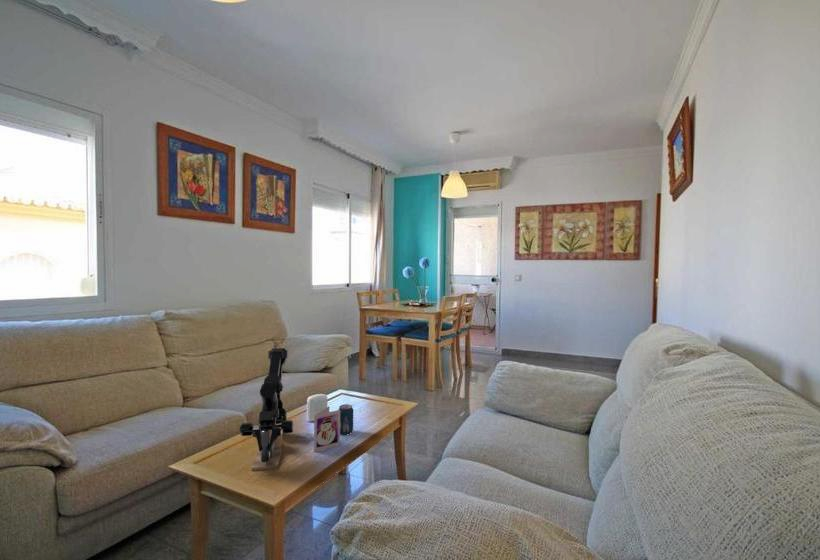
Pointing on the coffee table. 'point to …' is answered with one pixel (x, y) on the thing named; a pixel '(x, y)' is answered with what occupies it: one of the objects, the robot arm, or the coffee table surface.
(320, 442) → the greeting card
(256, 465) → the base board
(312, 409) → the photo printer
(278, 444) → the socket
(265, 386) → the robot arm
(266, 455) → the black handled metal tool
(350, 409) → the soda can
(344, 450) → the coffee table surface
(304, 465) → the coffee table surface
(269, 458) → the grey rectangular block
